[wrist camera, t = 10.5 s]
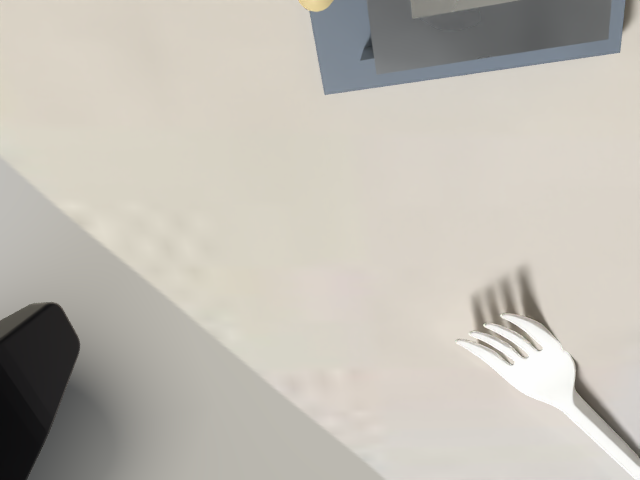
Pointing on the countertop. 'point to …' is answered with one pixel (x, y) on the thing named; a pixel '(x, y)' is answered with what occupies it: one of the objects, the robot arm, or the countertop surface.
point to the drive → (478, 29)
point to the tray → (360, 73)
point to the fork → (548, 380)
